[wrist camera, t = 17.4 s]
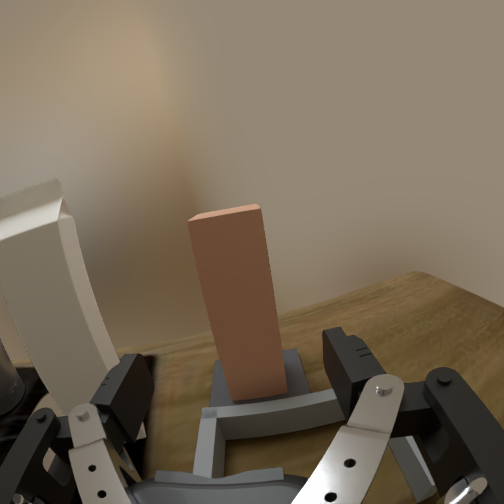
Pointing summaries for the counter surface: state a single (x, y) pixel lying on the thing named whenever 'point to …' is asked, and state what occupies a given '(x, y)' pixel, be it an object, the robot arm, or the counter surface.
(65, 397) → the milk
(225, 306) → the post
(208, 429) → the stall
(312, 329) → the counter surface
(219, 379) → the mat
